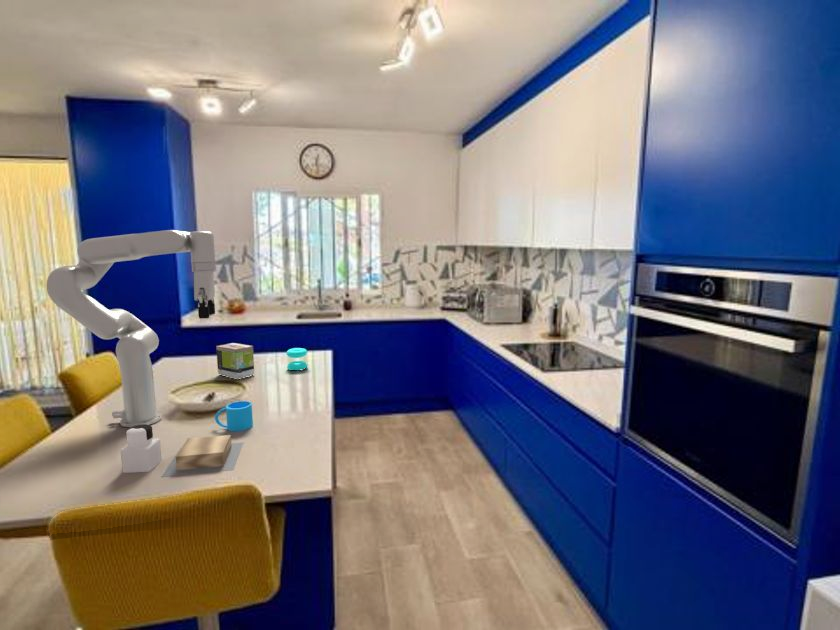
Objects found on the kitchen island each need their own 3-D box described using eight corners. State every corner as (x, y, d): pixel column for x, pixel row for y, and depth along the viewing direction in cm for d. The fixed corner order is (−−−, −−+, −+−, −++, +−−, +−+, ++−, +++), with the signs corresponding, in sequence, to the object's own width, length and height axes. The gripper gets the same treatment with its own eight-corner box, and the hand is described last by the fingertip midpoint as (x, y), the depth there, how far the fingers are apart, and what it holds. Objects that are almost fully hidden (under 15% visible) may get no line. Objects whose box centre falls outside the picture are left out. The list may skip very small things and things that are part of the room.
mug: (255, 422, 159) (254, 400, 157) (250, 432, 151) (249, 408, 149) (219, 424, 157) (217, 402, 156) (212, 434, 149) (210, 410, 148)
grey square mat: (161, 479, 120) (161, 477, 120) (180, 449, 137) (180, 447, 137) (233, 471, 124) (233, 469, 124) (243, 444, 141) (243, 442, 141)
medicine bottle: (136, 462, 129) (132, 422, 128) (162, 461, 130) (159, 421, 128) (122, 474, 122) (118, 432, 121) (150, 473, 123) (146, 431, 121)
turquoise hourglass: (289, 347, 232) (309, 347, 231) (290, 366, 233) (309, 366, 233) (283, 351, 222) (304, 352, 222) (284, 371, 223) (304, 371, 223)
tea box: (255, 375, 216) (253, 345, 214) (237, 380, 208) (235, 349, 206) (235, 371, 224) (233, 341, 222) (217, 375, 216) (215, 345, 214)
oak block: (176, 470, 123) (175, 456, 123) (188, 451, 135) (187, 438, 134) (223, 465, 126) (223, 452, 125) (231, 447, 138) (230, 434, 137)
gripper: (198, 266, 165) (201, 313, 167) (185, 268, 148) (189, 320, 150) (220, 266, 166) (223, 312, 169) (210, 268, 150) (213, 319, 152)
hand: (207, 316), depth 160 cm, fingers open, 9 cm apart
